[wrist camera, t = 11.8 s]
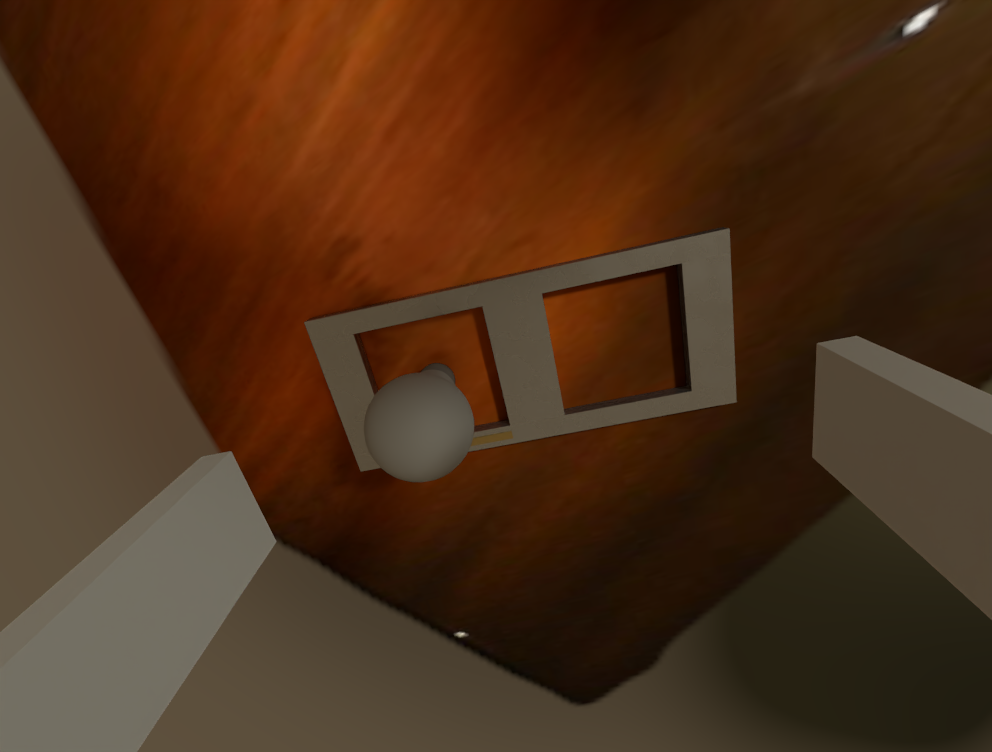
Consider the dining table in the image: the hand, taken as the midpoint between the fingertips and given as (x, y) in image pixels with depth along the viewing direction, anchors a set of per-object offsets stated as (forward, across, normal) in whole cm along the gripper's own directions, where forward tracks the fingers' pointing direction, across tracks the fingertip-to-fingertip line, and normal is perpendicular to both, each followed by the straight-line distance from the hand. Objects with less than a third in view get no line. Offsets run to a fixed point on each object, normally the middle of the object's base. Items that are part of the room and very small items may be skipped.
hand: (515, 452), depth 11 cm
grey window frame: (+22, 0, -6) cm, 23 cm away
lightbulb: (+22, -7, -6) cm, 24 cm away
